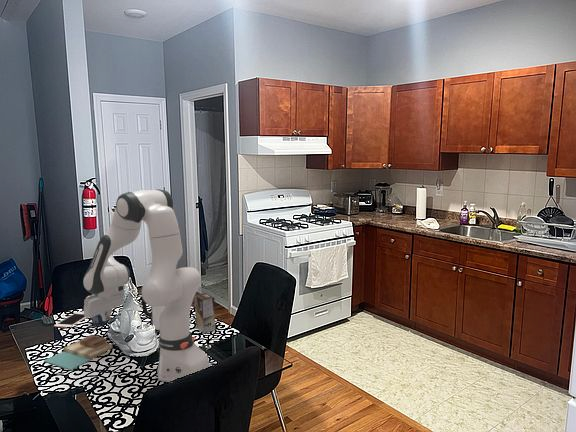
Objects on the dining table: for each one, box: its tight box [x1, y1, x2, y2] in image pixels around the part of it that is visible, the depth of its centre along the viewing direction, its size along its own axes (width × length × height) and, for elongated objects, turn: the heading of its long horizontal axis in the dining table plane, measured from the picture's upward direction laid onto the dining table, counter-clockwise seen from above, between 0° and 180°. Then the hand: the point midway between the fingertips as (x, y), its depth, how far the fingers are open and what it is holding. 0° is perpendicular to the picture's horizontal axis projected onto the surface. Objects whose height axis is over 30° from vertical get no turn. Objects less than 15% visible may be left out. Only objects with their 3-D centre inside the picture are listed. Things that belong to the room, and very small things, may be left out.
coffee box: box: [194, 292, 216, 334], centre depth 200 cm, size 9×6×16 cm
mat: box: [43, 350, 91, 371], centre depth 170 cm, size 16×9×1 cm, turn 64°
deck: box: [63, 340, 113, 361], centre depth 179 cm, size 16×11×2 cm
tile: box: [79, 334, 107, 349], centre depth 181 cm, size 9×6×2 cm, turn 64°
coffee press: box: [141, 296, 166, 331], centre depth 199 cm, size 17×16×30 cm
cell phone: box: [53, 311, 88, 328], centre depth 212 cm, size 9×18×1 cm, turn 172°
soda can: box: [91, 311, 108, 327], centre depth 206 cm, size 7×7×12 cm
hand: (106, 319), depth 187 cm, fingers closed
